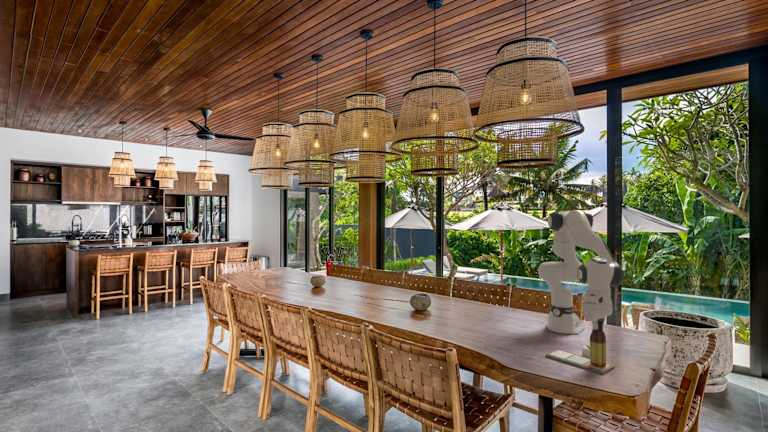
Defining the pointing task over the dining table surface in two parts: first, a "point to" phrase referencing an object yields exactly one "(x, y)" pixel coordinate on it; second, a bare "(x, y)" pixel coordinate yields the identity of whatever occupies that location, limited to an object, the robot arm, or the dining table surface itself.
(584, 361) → the game strip
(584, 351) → the pale notched block
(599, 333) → the sauce bottle
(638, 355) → the dining table surface
